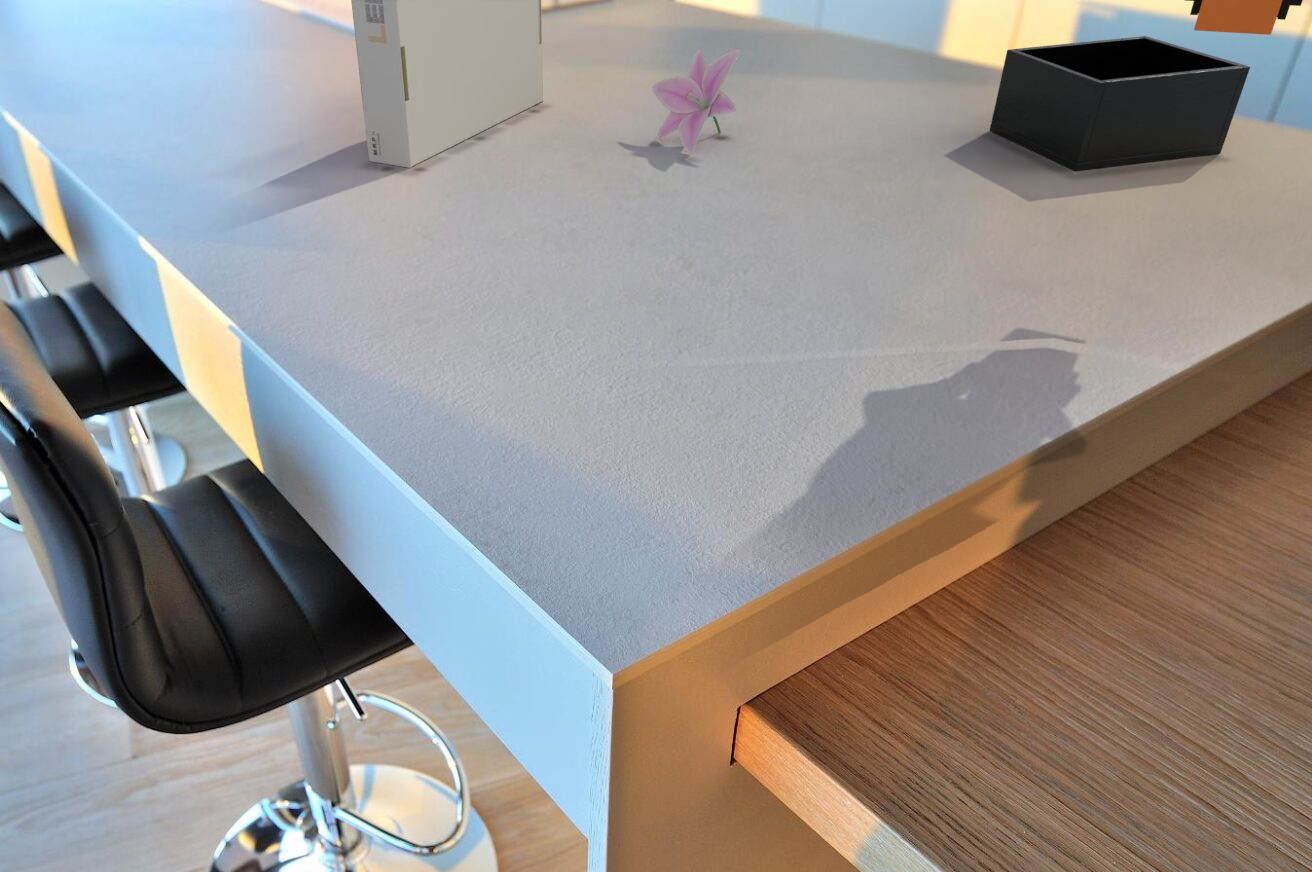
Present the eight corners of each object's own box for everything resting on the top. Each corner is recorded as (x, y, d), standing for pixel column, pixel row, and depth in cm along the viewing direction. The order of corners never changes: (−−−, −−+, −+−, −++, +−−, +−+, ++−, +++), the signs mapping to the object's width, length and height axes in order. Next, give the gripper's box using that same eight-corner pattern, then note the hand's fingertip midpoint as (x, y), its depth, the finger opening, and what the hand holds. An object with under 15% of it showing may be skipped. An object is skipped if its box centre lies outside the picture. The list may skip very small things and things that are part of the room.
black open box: (1122, 115, 128) (1145, 35, 123) (1220, 153, 116) (1250, 66, 111) (989, 130, 125) (1007, 49, 120) (1075, 171, 113) (1099, 82, 108)
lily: (650, 132, 133) (627, 68, 125) (741, 88, 131) (723, 20, 123) (678, 192, 126) (655, 128, 118) (774, 147, 124) (757, 78, 116)
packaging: (504, 96, 145) (498, -73, 133) (543, 101, 142) (541, -71, 131) (367, 160, 124) (346, -33, 113) (411, 168, 122) (393, -30, 110)
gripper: (1486, -291, 71) (1370, 10, 82) (1192, -275, 79) (1122, -1, 89) (1496, -290, 66) (1372, 31, 77) (1182, -273, 74) (1108, 17, 84)
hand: (1238, 11), depth 83 cm, fingers closed on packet, 5 cm apart
